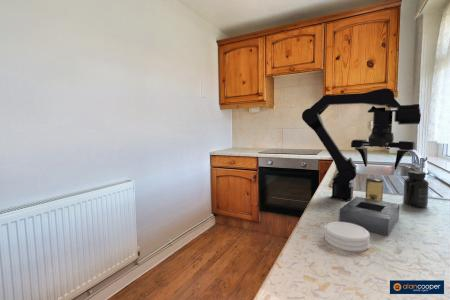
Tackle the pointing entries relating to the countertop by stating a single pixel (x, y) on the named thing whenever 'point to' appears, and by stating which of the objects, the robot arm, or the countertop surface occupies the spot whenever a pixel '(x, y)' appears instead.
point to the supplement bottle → (415, 190)
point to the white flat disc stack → (347, 236)
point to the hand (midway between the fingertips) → (380, 167)
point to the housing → (371, 214)
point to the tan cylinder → (374, 188)
